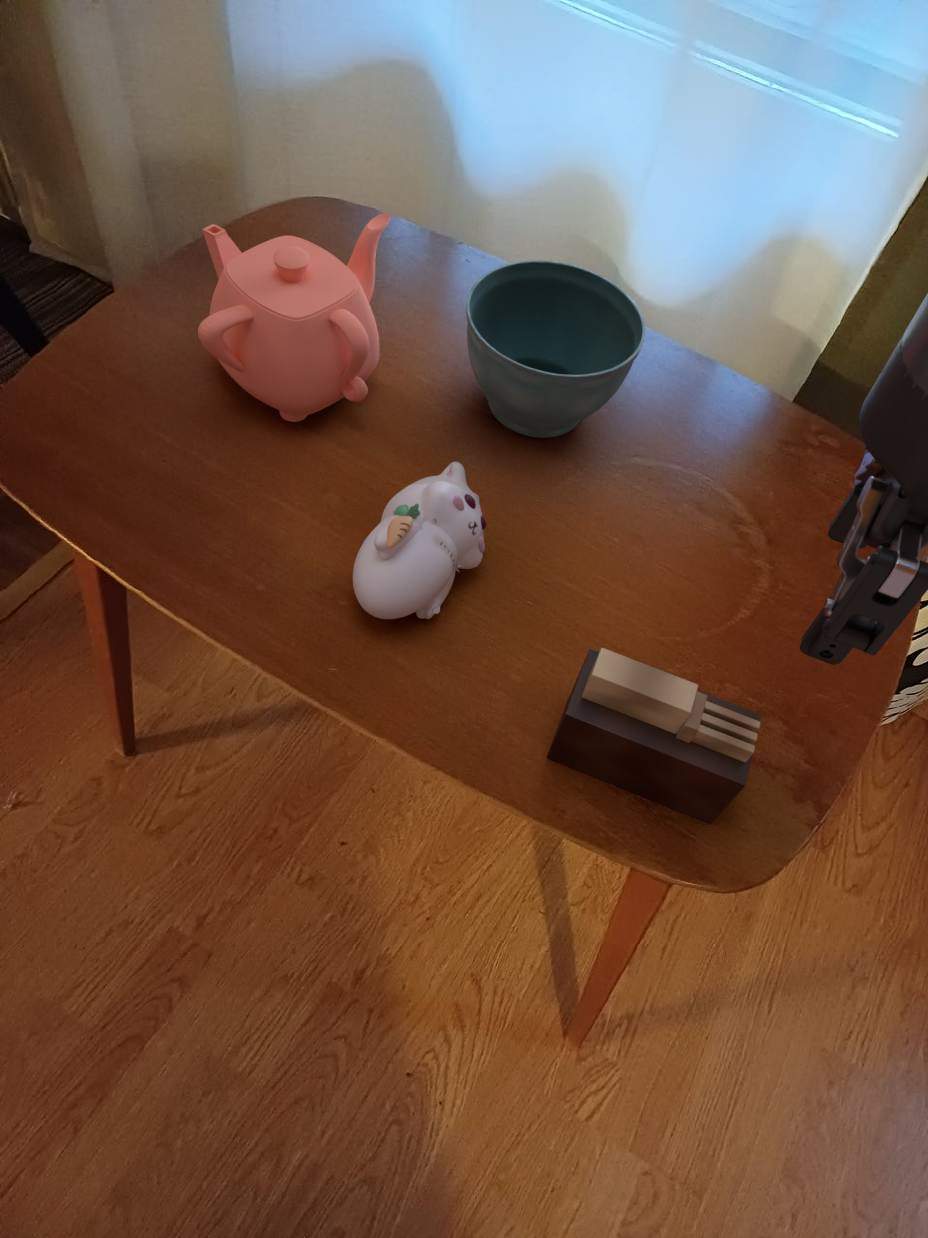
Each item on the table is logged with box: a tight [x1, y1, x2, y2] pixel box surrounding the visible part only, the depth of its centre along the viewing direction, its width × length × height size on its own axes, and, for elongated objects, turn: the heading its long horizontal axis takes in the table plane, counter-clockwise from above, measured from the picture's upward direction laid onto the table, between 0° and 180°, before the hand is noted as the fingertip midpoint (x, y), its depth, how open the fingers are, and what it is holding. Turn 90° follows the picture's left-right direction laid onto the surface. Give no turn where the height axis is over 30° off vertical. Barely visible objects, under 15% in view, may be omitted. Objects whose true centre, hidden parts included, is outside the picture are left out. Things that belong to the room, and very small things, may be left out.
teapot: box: [197, 212, 391, 423], centre depth 84 cm, size 16×17×14 cm
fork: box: [582, 647, 761, 763], centre depth 64 cm, size 12×3×3 cm, turn 69°
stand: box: [546, 647, 762, 825], centre depth 68 cm, size 13×6×7 cm, turn 69°
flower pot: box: [465, 259, 647, 439], centre depth 87 cm, size 16×16×11 cm
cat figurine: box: [352, 461, 487, 620], centre depth 75 cm, size 10×8×15 cm
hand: (832, 594), depth 51 cm, fingers open, 8 cm apart
